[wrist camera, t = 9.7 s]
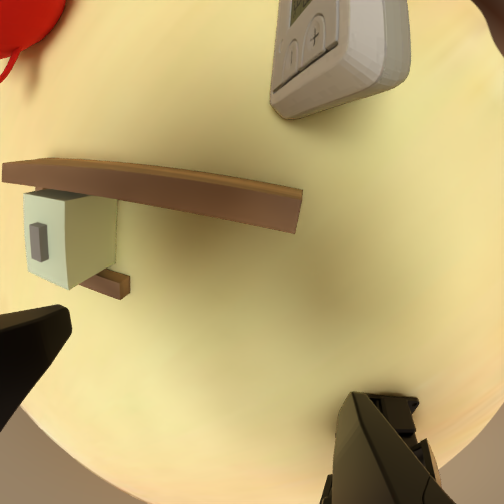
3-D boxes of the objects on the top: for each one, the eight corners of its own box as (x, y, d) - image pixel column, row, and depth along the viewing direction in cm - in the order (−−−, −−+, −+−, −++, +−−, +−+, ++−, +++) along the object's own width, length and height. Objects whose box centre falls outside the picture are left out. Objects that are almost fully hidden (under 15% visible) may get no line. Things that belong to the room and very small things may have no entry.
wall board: (271, 331, 21) (258, 385, 15) (48, 263, 24) (6, 283, 18) (302, 190, 18) (301, 200, 12) (48, 157, 20) (-1, 163, 15)
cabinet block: (116, 262, 22) (61, 294, 15) (75, 249, 22) (21, 274, 16) (119, 190, 20) (55, 203, 14) (75, 183, 21) (15, 195, 14)
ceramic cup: (7, 117, 20) (-61, 120, 11) (22, 10, 16) (-29, -3, 6) (79, 66, 17) (-8, 46, 8) (95, -44, 13) (41, -75, 4)
